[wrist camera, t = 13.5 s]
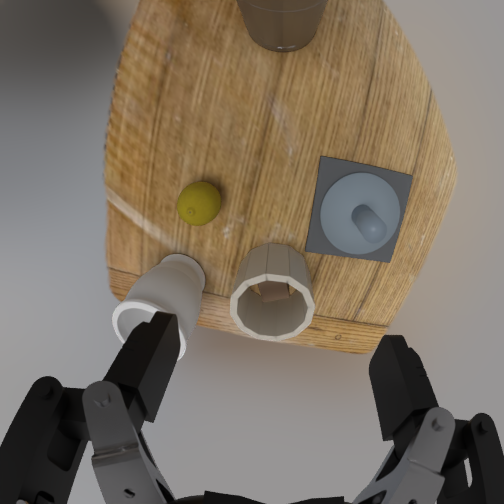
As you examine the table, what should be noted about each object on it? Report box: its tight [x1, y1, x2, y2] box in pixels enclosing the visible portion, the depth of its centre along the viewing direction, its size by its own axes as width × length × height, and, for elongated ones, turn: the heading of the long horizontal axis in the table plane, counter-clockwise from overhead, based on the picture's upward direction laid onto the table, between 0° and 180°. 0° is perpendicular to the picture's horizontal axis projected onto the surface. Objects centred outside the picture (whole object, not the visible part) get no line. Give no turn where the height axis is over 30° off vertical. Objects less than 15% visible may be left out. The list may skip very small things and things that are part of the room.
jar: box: [112, 254, 205, 361], centre depth 38 cm, size 11×10×15 cm
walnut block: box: [258, 280, 289, 302], centre depth 41 cm, size 4×4×4 cm
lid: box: [320, 172, 400, 254], centre depth 34 cm, size 12×12×7 cm
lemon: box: [177, 182, 221, 226], centre depth 35 cm, size 6×6×8 cm
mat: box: [305, 156, 413, 263], centre depth 37 cm, size 14×14×1 cm
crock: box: [230, 243, 315, 341], centre depth 39 cm, size 11×11×9 cm
